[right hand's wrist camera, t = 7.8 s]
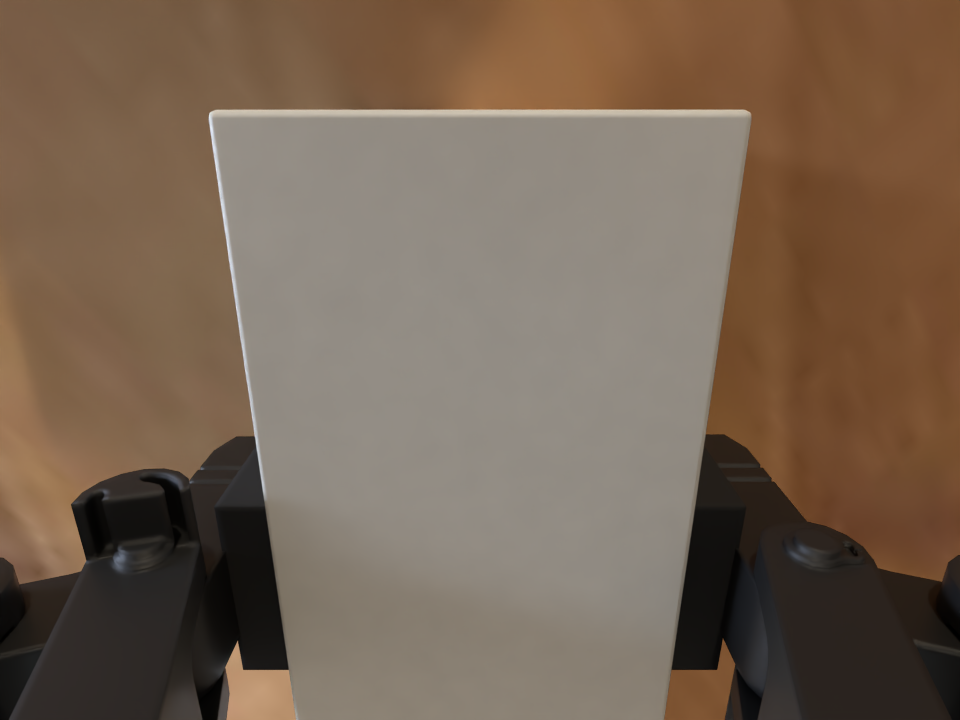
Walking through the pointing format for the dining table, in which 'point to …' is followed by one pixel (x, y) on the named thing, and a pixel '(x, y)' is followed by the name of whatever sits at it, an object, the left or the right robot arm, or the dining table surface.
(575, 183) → the post
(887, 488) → the dining table surface
